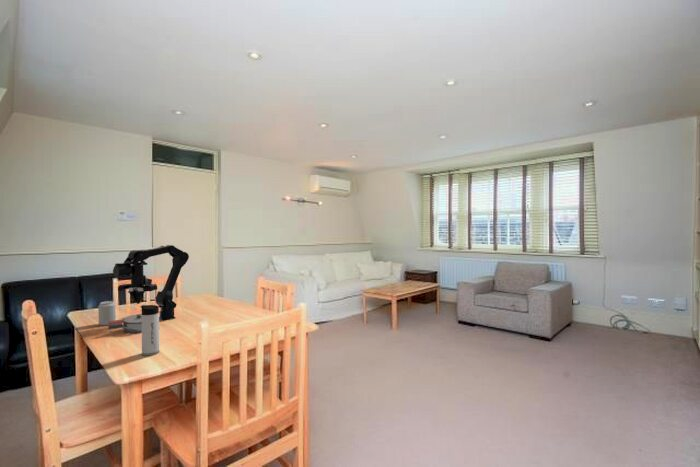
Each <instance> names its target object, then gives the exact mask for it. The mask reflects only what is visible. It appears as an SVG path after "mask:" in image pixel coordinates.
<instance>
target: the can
mask: <svg viewBox="0 0 700 467" xmlns="http://www.w3.org/2000/svg"><path fill="white" fill-rule="evenodd" d="M97 308H98V311H97V312H98V324H99V326H104V327H106V326H107V327H108V326H109V325H108V322H109V321H115V320H117V319H116V317H117V316H116V313H117V312H116V308H117V307H116V303H115V301H114V300H107V301H102V302H100V303H99V305H97Z"/></svg>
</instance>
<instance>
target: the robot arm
mask: <svg viewBox="0 0 700 467" xmlns="http://www.w3.org/2000/svg"><path fill="white" fill-rule="evenodd" d="M164 254H168V255H169V256H171V257H172V260H171V261H172V267H171V269H170V272H169V274H168V277H167V279H166V282H165V284H164V287H163V288H162V290H161V291H160V290H159V291H157V290H158V285H157V284H156V283H153V282H152V281H153V279H151V278H147V277H146V275H145V274H144V273H145V272H144V266H148V262H146V260H148V259H149V258H151V257H156V256H161V255H164ZM189 258H190V256H189V253H188V252H186V251H184V250H182V249H179V248H177V247H176V246H174V245H173V244H172V245H171V244H168V245H164V246H159V247H154V248H150V249H138V250H137V249H136V250H135V249H134V250H130V251H129V253H128V255H127V257H126V259H125V260H124V261H123V262H121V263H120V262H118V263H114V266H113V268H112V274H113V276H114V277H115V278H121V277H125V276H126V277H127V276H128V279H129V280H130V283H123V284H119V285H118V286H117V291H118V292H123V291H124V290H128V291H127V293H129V295H130V296H131V297H132V298H133V300H134V301H135V303H136V304H137V305H139V304H140V303H141V301H142V298H143V296H144V294H145V292H152V291H157V294H156V296H155V304H156V306H158V307H159V308H160V310H159V317H162V320H161V321H169V320H174V319H176V317H175V308H177V303H176V302H175V301H174V300H173V299H174V289H175V285H176V283H177V281H178V277H179V275H180V273H181V270H182V268H183V267H184V266H185V265H186V264H187V262H188V260H189Z"/></svg>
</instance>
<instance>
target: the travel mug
mask: <svg viewBox="0 0 700 467" xmlns="http://www.w3.org/2000/svg"><path fill="white" fill-rule="evenodd" d="M140 308H141V313H140V314H141V315H142V316H141V319H142V333H141V355H142V356H144V357H151V356H155V355H157V354H159V353H160V320H159V317H160V309H159V306H158V305H157V304H156V305H155V304H142V305H141V306H140Z"/></svg>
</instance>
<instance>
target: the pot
mask: <svg viewBox="0 0 700 467" xmlns="http://www.w3.org/2000/svg"><path fill="white" fill-rule="evenodd" d="M159 321H163V320H162V317H160V316H159ZM107 328H108V329H107V330H115V329H120V328H122V332H123V333H124V334H128V335H129V334H131V335H134V334H142V322H141V323H121V324H115V325H107Z"/></svg>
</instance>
